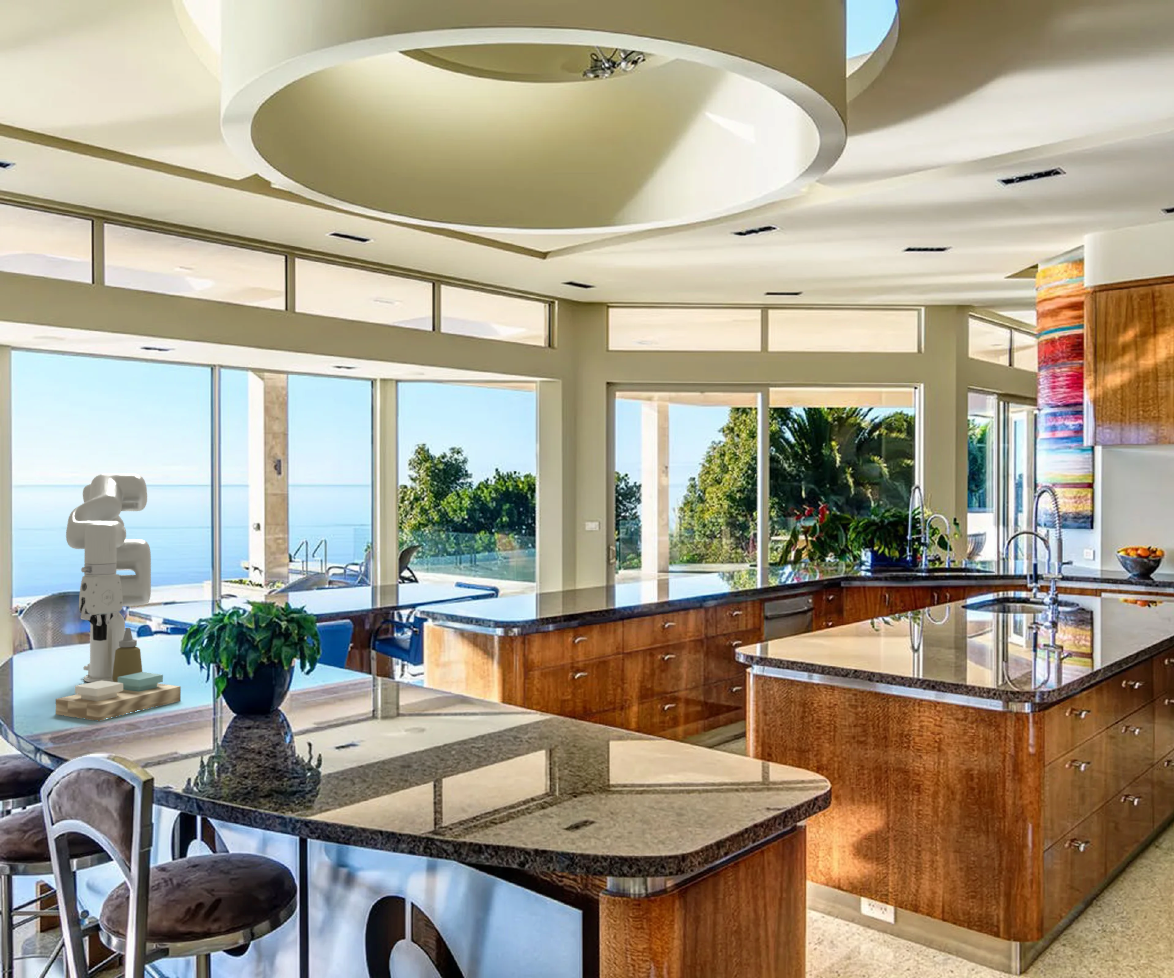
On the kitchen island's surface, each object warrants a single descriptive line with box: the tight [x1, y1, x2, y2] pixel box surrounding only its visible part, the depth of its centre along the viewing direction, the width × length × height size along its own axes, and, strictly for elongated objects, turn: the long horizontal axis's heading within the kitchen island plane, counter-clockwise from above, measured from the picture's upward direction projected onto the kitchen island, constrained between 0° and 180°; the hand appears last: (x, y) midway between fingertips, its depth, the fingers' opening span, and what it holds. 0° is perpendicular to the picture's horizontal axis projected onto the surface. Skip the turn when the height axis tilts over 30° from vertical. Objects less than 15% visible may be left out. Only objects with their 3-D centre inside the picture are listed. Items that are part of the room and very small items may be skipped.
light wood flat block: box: [55, 683, 182, 722], centre depth 263 cm, size 26×16×4 cm, turn 155°
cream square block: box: [74, 680, 123, 701], centre depth 257 cm, size 8×8×5 cm
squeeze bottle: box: [112, 627, 143, 682], centre depth 285 cm, size 8×8×18 cm
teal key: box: [118, 671, 164, 692], centre depth 269 cm, size 8×8×5 cm
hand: (99, 639), depth 257 cm, fingers closed
